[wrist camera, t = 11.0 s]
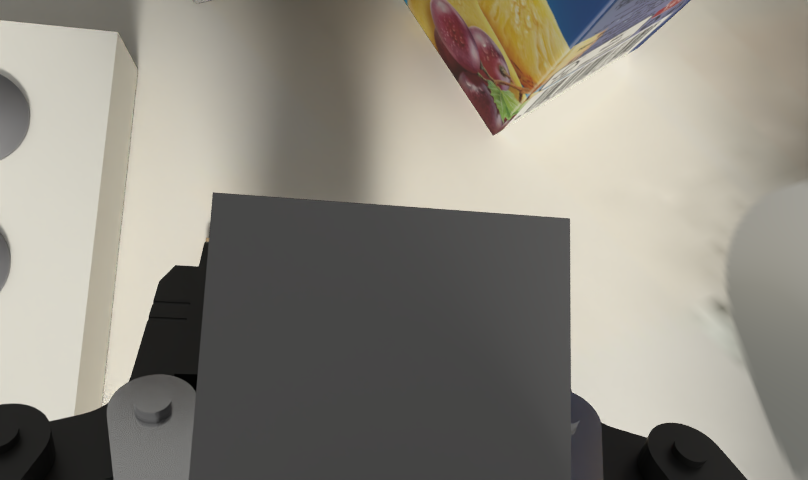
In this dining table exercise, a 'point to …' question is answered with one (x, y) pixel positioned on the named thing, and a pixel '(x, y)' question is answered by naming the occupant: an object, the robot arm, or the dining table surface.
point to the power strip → (60, 209)
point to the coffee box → (200, 1)
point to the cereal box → (533, 46)
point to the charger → (382, 344)
